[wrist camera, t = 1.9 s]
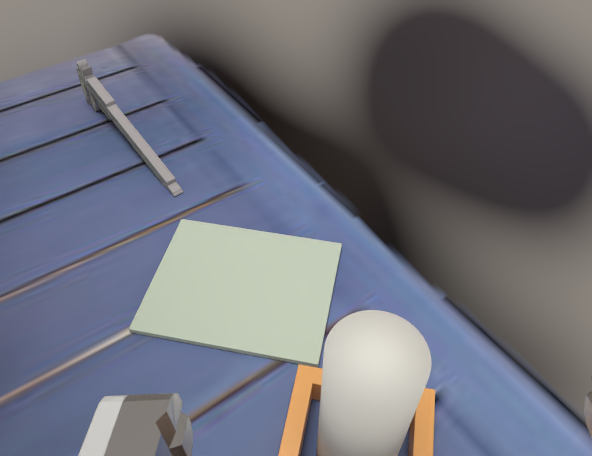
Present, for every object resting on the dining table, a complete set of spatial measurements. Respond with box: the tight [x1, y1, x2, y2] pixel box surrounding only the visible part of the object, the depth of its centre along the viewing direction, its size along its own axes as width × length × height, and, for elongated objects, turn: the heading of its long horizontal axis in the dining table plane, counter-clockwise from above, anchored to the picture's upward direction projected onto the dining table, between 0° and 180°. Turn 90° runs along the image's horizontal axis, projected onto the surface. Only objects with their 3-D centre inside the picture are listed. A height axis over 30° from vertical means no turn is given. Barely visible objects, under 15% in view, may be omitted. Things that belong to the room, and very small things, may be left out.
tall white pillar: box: [316, 310, 431, 456], centre depth 30 cm, size 5×5×14 cm
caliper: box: [76, 59, 183, 197], centre depth 55 cm, size 20×1×6 cm, turn 39°
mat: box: [129, 219, 342, 368], centre depth 44 cm, size 15×12×1 cm
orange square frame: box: [278, 364, 435, 456], centre depth 34 cm, size 9×9×2 cm
